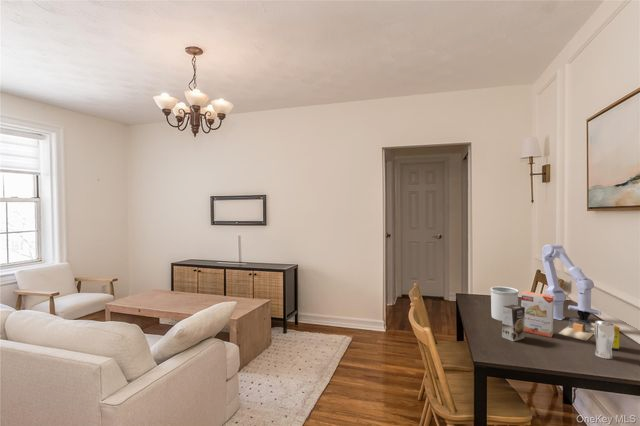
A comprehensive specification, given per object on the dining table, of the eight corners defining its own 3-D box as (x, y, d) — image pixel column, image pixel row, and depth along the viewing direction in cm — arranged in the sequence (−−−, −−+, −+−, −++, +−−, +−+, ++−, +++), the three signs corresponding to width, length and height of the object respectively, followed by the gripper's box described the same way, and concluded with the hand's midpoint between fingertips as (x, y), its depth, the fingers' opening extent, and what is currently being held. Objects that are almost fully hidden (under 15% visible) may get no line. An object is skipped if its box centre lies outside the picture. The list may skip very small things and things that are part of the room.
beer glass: (589, 352, 154) (590, 320, 154) (603, 352, 155) (604, 320, 155) (603, 359, 148) (604, 326, 147) (618, 359, 148) (619, 325, 148)
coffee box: (513, 342, 166) (514, 309, 166) (501, 337, 172) (502, 306, 172) (524, 338, 171) (525, 307, 170) (512, 334, 176) (513, 303, 176)
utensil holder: (491, 320, 197) (491, 290, 197) (488, 312, 211) (489, 285, 211) (520, 323, 192) (520, 293, 191) (515, 315, 206) (516, 287, 205)
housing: (568, 327, 185) (568, 319, 185) (570, 326, 188) (571, 317, 188) (589, 332, 178) (589, 323, 178) (591, 330, 181) (591, 321, 181)
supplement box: (619, 350, 157) (620, 327, 157) (604, 349, 159) (605, 326, 158) (611, 345, 163) (611, 322, 163) (597, 344, 164) (597, 321, 164)
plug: (578, 325, 189) (579, 319, 189) (587, 327, 186) (587, 321, 186) (572, 330, 182) (572, 323, 182) (581, 332, 179) (582, 325, 179)
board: (558, 333, 177) (558, 333, 177) (576, 320, 199) (576, 319, 199) (586, 340, 168) (586, 340, 168) (602, 325, 189) (602, 325, 189)
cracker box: (520, 331, 180) (521, 292, 180) (522, 328, 185) (523, 290, 185) (551, 338, 171) (552, 297, 171) (553, 334, 176) (554, 295, 175)
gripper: (566, 299, 191) (566, 322, 191) (599, 305, 179) (598, 330, 180) (570, 296, 195) (569, 320, 195) (602, 302, 184) (601, 327, 184)
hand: (583, 324), depth 188 cm, fingers closed, pressing on plug
